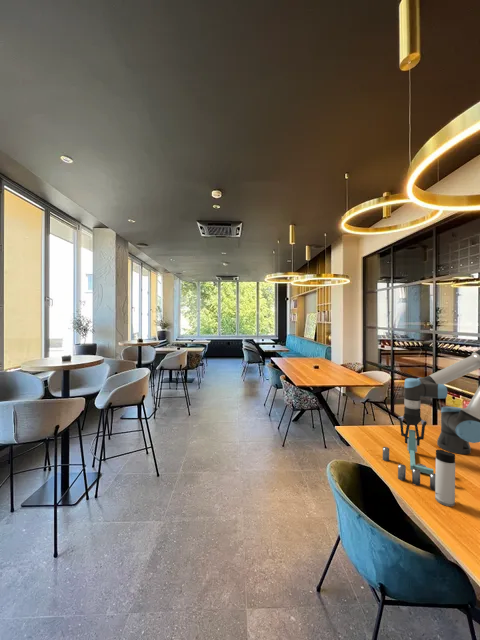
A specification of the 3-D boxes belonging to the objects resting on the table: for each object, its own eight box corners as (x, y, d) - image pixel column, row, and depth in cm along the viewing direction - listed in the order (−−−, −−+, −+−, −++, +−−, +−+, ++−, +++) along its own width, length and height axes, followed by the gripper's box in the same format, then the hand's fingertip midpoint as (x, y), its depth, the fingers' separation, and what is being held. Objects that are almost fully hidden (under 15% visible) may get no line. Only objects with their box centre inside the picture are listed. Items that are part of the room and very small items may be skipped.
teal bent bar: (408, 451, 153) (408, 429, 153) (429, 455, 148) (429, 433, 148) (409, 469, 132) (409, 443, 133) (433, 475, 127) (433, 448, 128)
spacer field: (443, 472, 132) (443, 459, 132) (447, 494, 115) (447, 479, 115) (382, 457, 145) (383, 446, 145) (379, 475, 128) (379, 462, 128)
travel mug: (433, 501, 110) (434, 451, 110) (437, 494, 114) (437, 446, 114) (453, 509, 105) (453, 456, 105) (456, 501, 110) (456, 451, 110)
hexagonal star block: (425, 469, 134) (426, 465, 134) (426, 473, 130) (426, 469, 130) (416, 466, 136) (416, 462, 136) (416, 471, 132) (416, 467, 132)
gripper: (395, 406, 152) (394, 449, 152) (430, 411, 144) (430, 456, 144) (395, 403, 159) (395, 444, 158) (429, 407, 150) (429, 451, 150)
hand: (412, 450), depth 151 cm, fingers closed on teal bent bar, 3 cm apart
